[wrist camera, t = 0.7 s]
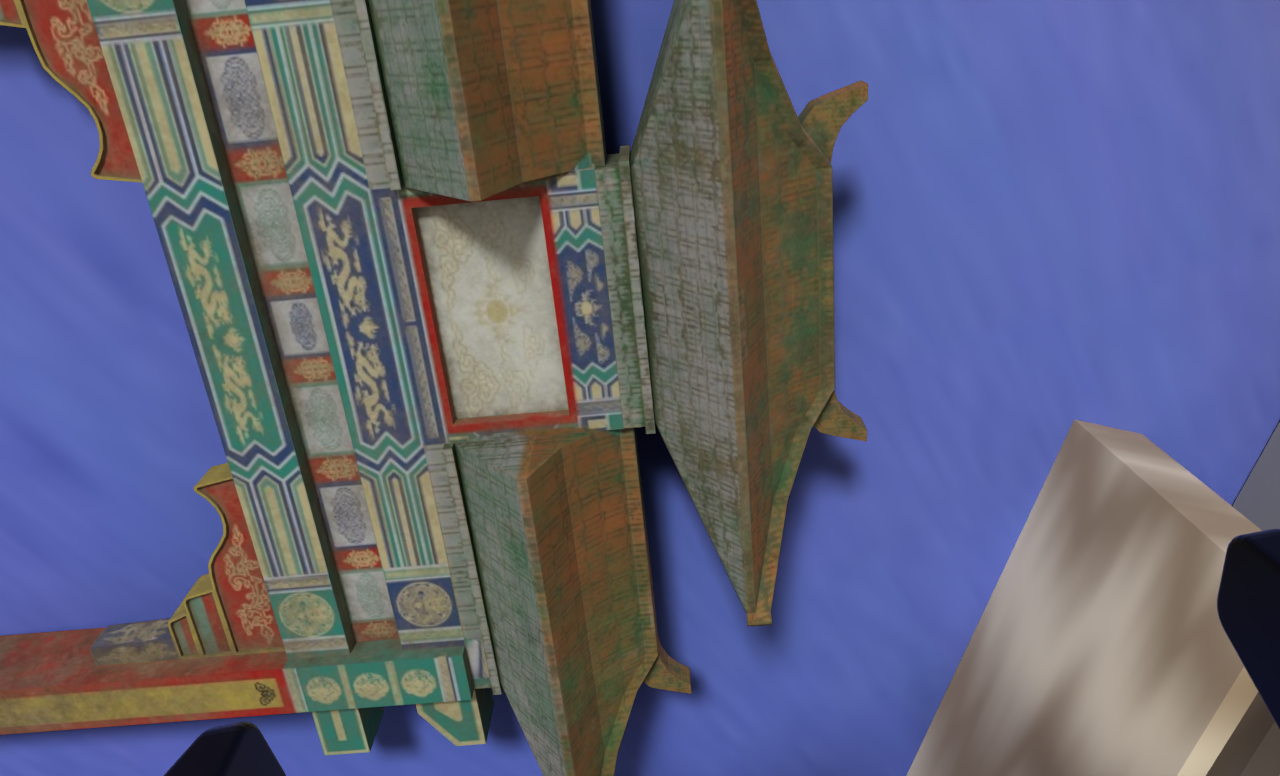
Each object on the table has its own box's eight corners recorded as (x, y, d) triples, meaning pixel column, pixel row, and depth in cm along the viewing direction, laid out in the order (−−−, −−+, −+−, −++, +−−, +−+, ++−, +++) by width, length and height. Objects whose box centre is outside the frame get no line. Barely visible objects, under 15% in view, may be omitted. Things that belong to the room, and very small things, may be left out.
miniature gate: (-1315, -422, 13) (913, -707, 12) (-766, -313, 18) (831, -506, 17) (-320, 930, 24) (888, 849, 23) (-152, 761, 29) (842, 688, 28)
